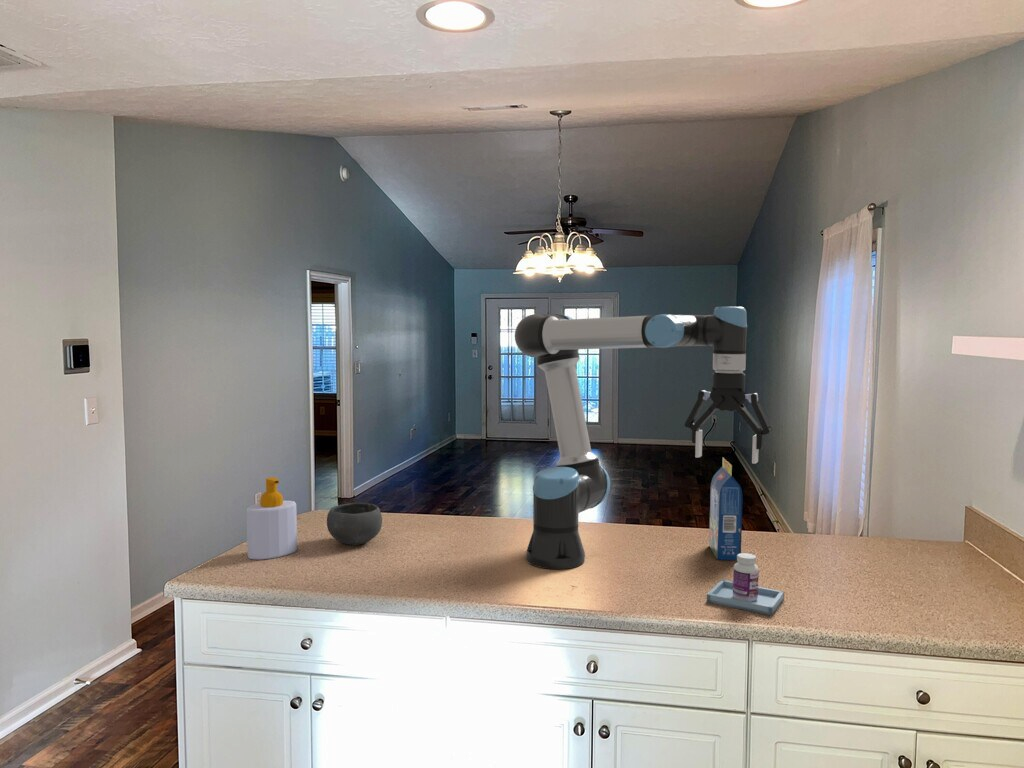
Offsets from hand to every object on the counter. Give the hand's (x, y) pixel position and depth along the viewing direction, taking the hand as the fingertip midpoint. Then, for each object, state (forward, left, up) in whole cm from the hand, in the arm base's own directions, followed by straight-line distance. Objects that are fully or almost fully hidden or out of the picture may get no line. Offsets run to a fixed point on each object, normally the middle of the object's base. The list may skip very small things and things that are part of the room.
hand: (726, 459), depth 176 cm
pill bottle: (+9, -13, -28) cm, 32 cm away
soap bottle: (-105, -49, -29) cm, 119 cm away
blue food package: (-5, +18, -29) cm, 34 cm away
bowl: (-94, -30, -29) cm, 103 cm away
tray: (+9, -13, -29) cm, 33 cm away
